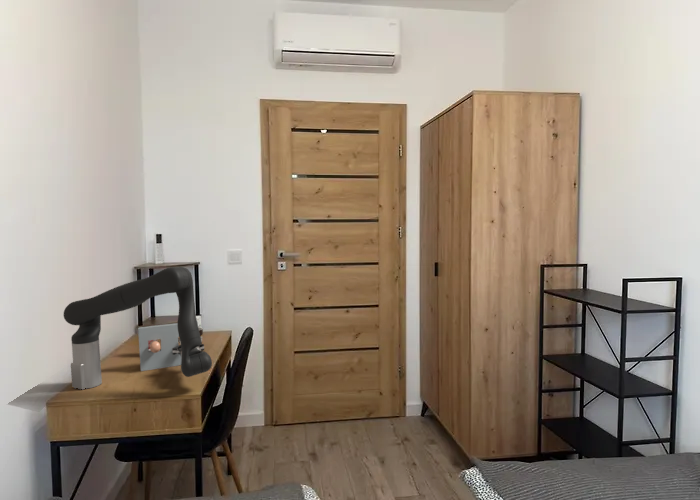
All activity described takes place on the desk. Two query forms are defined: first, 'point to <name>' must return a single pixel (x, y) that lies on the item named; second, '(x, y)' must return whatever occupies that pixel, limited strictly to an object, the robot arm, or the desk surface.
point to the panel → (168, 341)
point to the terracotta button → (155, 346)
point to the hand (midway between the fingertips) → (186, 344)
